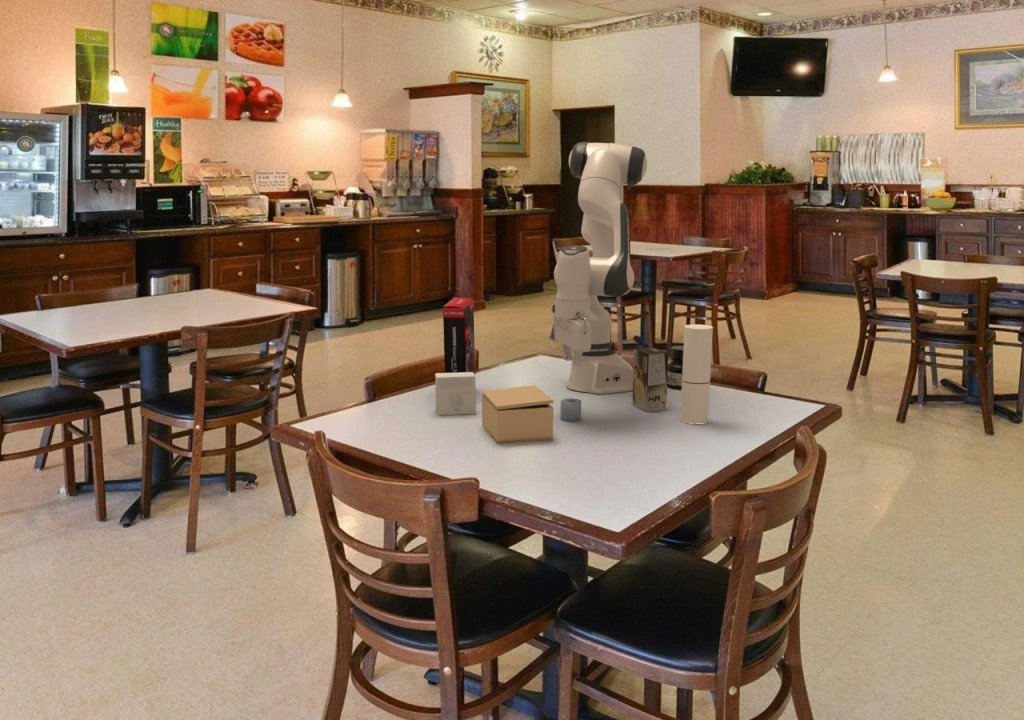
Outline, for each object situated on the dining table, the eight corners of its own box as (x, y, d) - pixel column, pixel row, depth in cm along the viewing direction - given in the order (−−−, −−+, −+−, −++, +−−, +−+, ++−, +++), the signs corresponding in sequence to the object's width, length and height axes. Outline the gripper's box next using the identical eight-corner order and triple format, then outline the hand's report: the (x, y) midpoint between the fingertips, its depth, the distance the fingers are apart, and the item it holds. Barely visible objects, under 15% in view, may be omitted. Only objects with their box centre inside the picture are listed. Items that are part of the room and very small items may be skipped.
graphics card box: (467, 402, 263) (467, 306, 257) (443, 401, 263) (442, 305, 258) (475, 388, 279) (475, 297, 274) (452, 387, 280) (452, 297, 274)
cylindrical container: (704, 417, 248) (709, 324, 243) (710, 424, 241) (715, 329, 236) (677, 417, 248) (681, 324, 243) (683, 424, 241) (687, 329, 236)
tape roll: (577, 416, 249) (577, 397, 248) (583, 421, 244) (584, 402, 243) (557, 417, 248) (558, 398, 247) (563, 422, 242) (564, 403, 241)
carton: (534, 422, 242) (535, 392, 241) (552, 439, 227) (553, 407, 225) (482, 425, 239) (482, 395, 237) (496, 443, 224) (496, 410, 222)
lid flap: (535, 388, 240) (535, 385, 240) (553, 403, 225) (553, 399, 225) (482, 394, 237) (481, 391, 237) (496, 409, 222) (496, 406, 222)
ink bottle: (658, 385, 285) (660, 346, 282) (680, 381, 289) (681, 343, 287) (680, 391, 277) (682, 352, 274) (702, 388, 281) (704, 349, 279)
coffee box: (667, 410, 255) (669, 352, 252) (646, 412, 253) (648, 354, 250) (651, 402, 264) (653, 346, 261) (630, 404, 262) (632, 348, 258)
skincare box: (473, 408, 256) (473, 371, 254) (476, 414, 250) (476, 376, 248) (435, 409, 254) (434, 372, 252) (436, 415, 248) (436, 377, 246)
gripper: (598, 315, 231) (596, 370, 234) (572, 304, 250) (571, 354, 253) (573, 316, 229) (572, 371, 232) (549, 304, 249) (548, 355, 251)
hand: (571, 362), depth 243 cm, fingers open, 6 cm apart
